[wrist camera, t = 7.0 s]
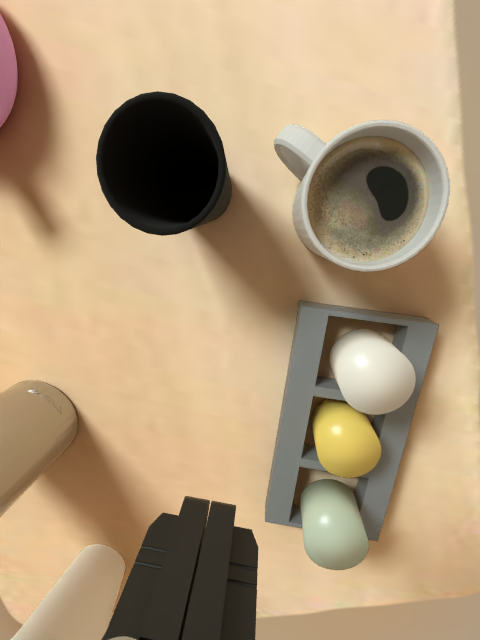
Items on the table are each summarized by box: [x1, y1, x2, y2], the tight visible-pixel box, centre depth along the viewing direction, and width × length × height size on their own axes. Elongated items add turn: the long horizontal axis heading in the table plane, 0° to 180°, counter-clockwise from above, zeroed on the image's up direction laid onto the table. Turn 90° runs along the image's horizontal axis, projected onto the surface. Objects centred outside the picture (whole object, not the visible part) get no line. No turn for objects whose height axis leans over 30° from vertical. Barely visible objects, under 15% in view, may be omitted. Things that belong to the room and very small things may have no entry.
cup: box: [96, 92, 232, 236], centre depth 25 cm, size 8×8×12 cm
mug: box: [274, 120, 450, 272], centre depth 25 cm, size 11×10×10 cm
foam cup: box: [10, 544, 126, 640], centre depth 37 cm, size 10×9×13 cm
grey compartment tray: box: [265, 301, 439, 541], centre depth 34 cm, size 24×12×2 cm, turn 173°
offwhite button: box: [330, 329, 416, 415], centre depth 28 cm, size 6×6×5 cm
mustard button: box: [311, 398, 381, 478], centre depth 33 cm, size 6×6×5 cm
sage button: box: [300, 479, 369, 570], centre depth 33 cm, size 6×6×5 cm
